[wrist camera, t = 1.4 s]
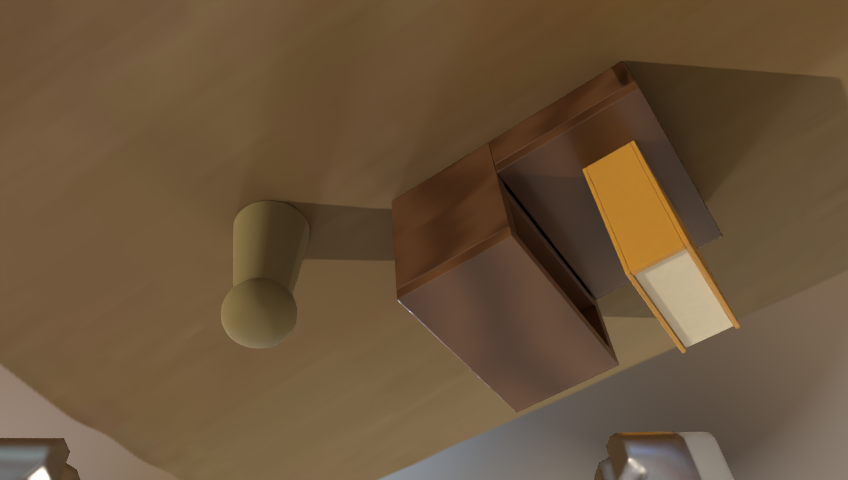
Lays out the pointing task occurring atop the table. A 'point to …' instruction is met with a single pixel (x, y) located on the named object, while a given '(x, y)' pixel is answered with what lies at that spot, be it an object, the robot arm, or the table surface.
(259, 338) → the tan pawn game piece
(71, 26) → the table surface
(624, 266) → the book
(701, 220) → the wooden l-shaped block
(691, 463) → the robot arm
